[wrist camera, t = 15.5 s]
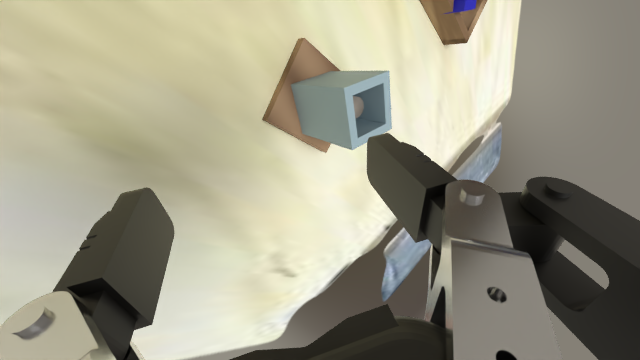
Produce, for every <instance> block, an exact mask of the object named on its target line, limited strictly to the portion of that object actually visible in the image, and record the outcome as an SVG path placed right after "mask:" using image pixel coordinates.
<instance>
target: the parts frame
mask: <svg viewBox="0 0 640 360" xmlns="http://www.w3.org/2000/svg"><path fill="white" fill-rule="evenodd" d="M420 2H421V3H422V5H423V7H424V9H425V11H426V13H427V15H428V16H429V18H430V20H431V22H432V24H433V26H434V27H435V29H436V31H437V33H438V35H439V37H440V38H441V40H442V42H443V44H444V45H448V44H460V43H467V42H468V39H469V37H470V35H471V33H472V31H473V29H474V27H475V25H476V23H477V21H478V19H479V16H480V14H481V12H482V10H483V8H484V6H485V4H486V2H487V0H476V7H475V9H472V10H468V11H463V12H455V13H449V12H453V4H454V0H420ZM444 13H448V14H444Z"/></svg>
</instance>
